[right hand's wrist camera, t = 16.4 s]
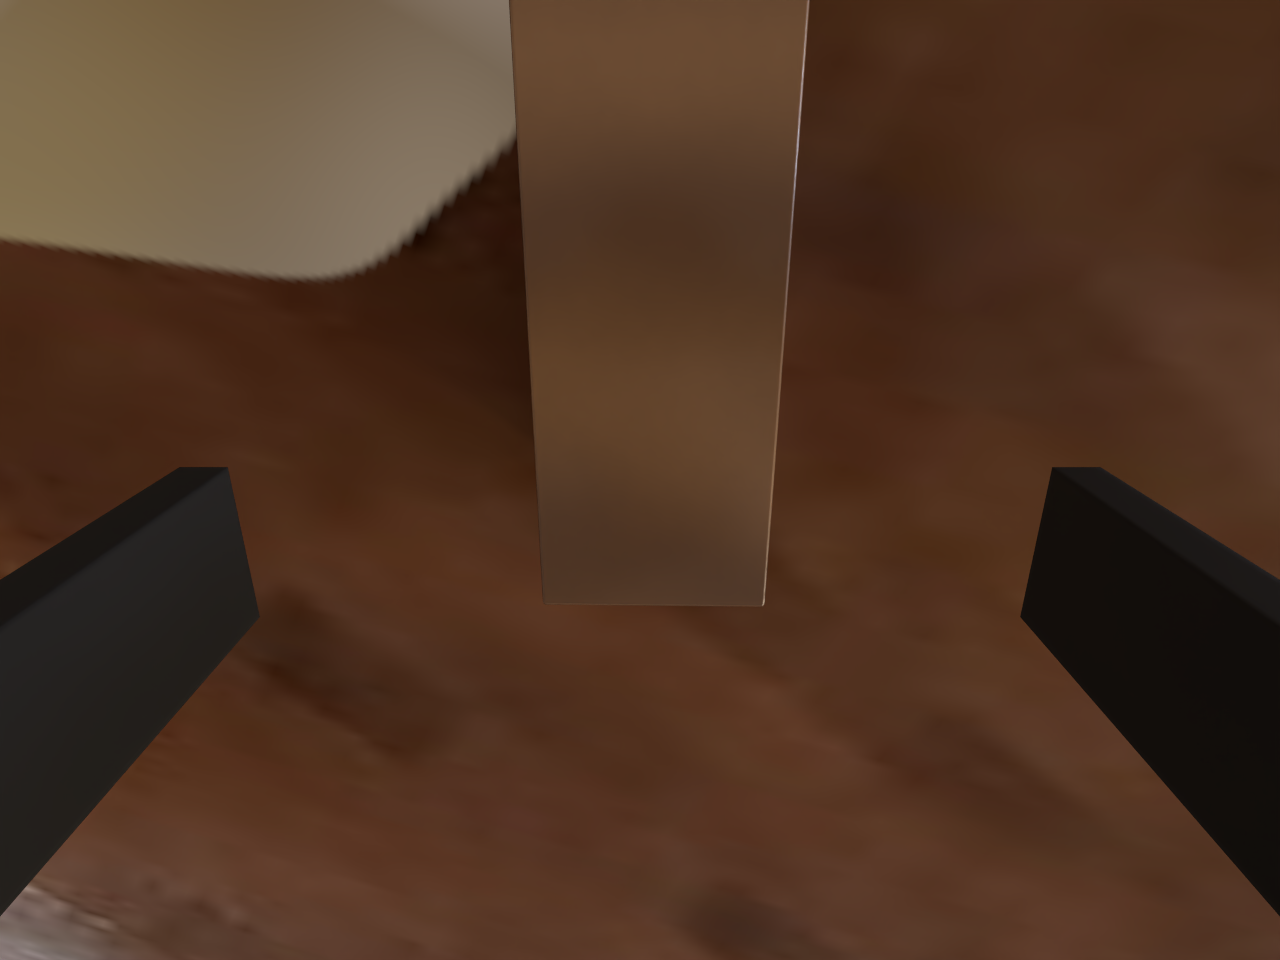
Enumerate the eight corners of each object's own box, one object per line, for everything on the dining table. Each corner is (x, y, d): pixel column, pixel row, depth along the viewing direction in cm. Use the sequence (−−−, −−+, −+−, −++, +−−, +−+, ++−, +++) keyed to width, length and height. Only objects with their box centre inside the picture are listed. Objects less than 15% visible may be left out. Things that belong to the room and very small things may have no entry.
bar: (731, 472, 25) (764, 607, 17) (576, 471, 25) (542, 605, 17) (788, -649, 15) (918, -1428, 8) (538, -644, 15) (427, -1415, 8)
